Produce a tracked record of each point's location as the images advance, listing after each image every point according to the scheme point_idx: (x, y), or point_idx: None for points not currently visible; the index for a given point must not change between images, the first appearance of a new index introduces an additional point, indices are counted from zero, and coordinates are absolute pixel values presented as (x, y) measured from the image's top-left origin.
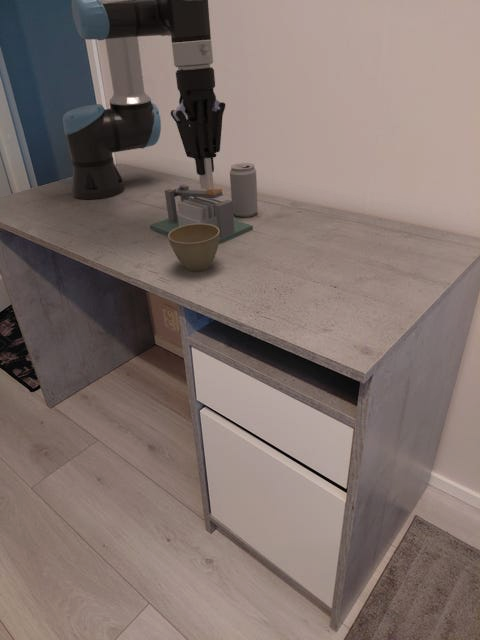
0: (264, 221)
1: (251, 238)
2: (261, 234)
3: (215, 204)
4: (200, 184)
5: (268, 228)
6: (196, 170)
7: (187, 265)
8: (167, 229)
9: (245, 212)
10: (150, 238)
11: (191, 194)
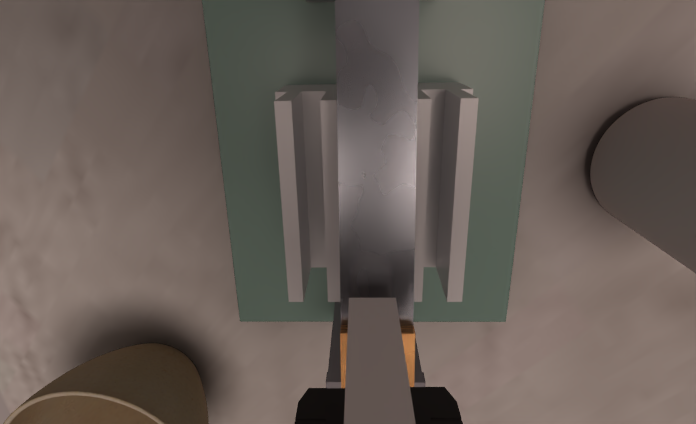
0: (602, 288)
1: (429, 358)
2: (480, 361)
3: (330, 387)
4: (348, 313)
5: (544, 344)
6: (296, 414)
7: (98, 406)
8: (229, 61)
9: (610, 213)
10: (143, 40)
11: (338, 185)
